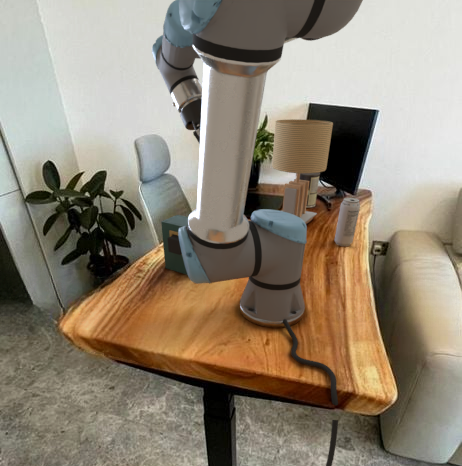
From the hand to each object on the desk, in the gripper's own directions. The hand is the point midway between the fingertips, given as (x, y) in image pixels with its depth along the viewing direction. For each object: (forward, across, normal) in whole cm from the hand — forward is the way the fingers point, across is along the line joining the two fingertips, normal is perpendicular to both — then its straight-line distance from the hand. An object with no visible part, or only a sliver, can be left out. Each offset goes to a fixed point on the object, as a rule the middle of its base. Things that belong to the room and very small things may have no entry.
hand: (235, 199), depth 86 cm
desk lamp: (+10, -58, +6) cm, 59 cm away
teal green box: (+10, -8, -22) cm, 26 cm away
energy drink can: (+25, -40, +19) cm, 51 cm away
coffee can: (+5, -81, +11) cm, 82 cm away
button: (+5, -3, -20) cm, 21 cm away
